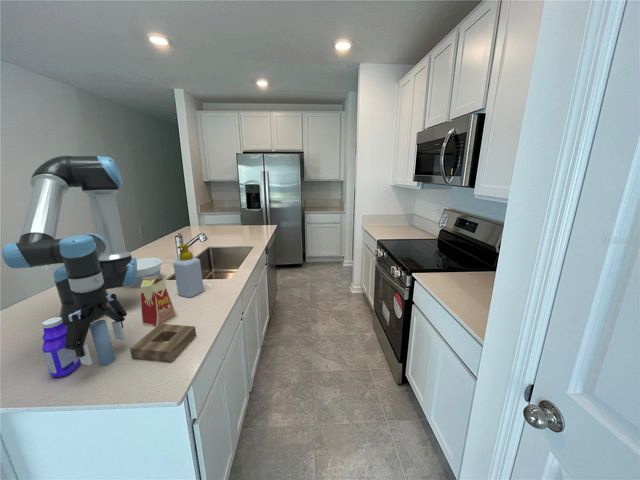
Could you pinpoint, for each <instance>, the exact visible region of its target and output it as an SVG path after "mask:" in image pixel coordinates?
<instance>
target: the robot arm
mask: <svg viewBox="0 0 640 480" xmlns="http://www.w3.org/2000/svg"><path fill="white" fill-rule="evenodd" d="M123 183H124V182H123V179H122V176H121V172H120V170H119V167H118V165H117V163H116V161H115V159H114V158H112V157H109V156H100V155H96V156H95V155H93V156H92V155H60V156H59V155H58V156H55V157H52V158H49V159H48V160H46V161H45V162H43V163H42V164H40V165H39V166H38V168H36V170H34V172H33V174H32V176H31V179H30V186H31V188H32V191H31V195H30V199H29V203H28V207H27V209H26V214H25V217H24V221H23V226H22V230H21V233H20V237H19V240H18V242H16V241H15V242H10V243H7V244H5V245H4V246H3V248H2V251H1V255H2V256H1V257H2V260H3V262H4V264H6V266H7V267H8V268H11V269H27V268H28V269H29V268H35V267H43V266H49V265H56V264H57V265H58V264H63V265H60V266H59V267H57V268H56V269H55V270H54V271H53V279H54V284H55V287H56V290H57V293H58V297H59V299H60V300H59V301H60V303H61V306H60V307H61V308H60V312H59V313H60V315H59V317H61V318H62V321H63V323H64V325H65V326H66V327H67V333H66V342H65V349H70V350H75V353H76V356H77V357H79V358H80V363H81V365H84V366H85V365H88V366H90V365H91V364H93V362H92V358H91V354H90V351H89V347H88V344H85V342H86V339H87V336H88V333H89V330H90V324H91V323H93V322H95V321H97V320H99V319H101V318H102V317H104V316H106V317H108V318H109V319H111V320H113V321H112V322H111V326H112V330H113V333H114V337H115V340H118V341H124V340H125V334H124V330H123V329H124V323H123V322H124V321H125V320H126V318H125V317H127V314H128V313H127V312H126V310H125V309H124V308H123V306H122V305H121V303H120V302H119V300H118V298H117V295H116V293H107V290H111V289H117V288H124V287H127V286H128V285H132V284H134V283H135V282H136V279H137V258H136V257H133V256H132V254H131V253H130V252H129V251H127V250H126V245H125V240H124V234H123V233H124V232H123V227H122V223H121V218H120V213H119V207H118V202H117V196H116V195H117V194H118V193H119V192H120V188H119V187H122V186H123V185H124V184H123ZM70 188H81V190H82V191H81V192H82V193H84V194H85V195H87V196H88V200H89V206H90V210H91V216H92V220H93V225H94V229H95V230H94V231H95V233H85V234H81V235H72V236H68V237H64V238H56V236H57V231H58V226H59V221H60V214H61V209H62V203H63V199H64V194H66V193H68V191H69V189H70ZM128 287H129V286H128ZM107 303H108V304H107ZM109 305H110V307H109Z"/></svg>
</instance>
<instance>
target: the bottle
mask: <svg viewBox="0 0 640 480" xmlns="http://www.w3.org/2000/svg"><path fill="white" fill-rule="evenodd" d="M42 328H43V335H42V337H41V339H42V340H43V343H42V347H41V349H42V353H43V358H44V359H45V360H44V361H45V363H46V365H47V369H48V372H49V373H48V374H49V375H50V376H51V377H53V378H62V377H65V376H67V375H69V374H71V373H72V372H74V370H76V369H77V368H78V367H79V365H80V363H81V360H80V357H77V356H76V353H75V350H70V349H65V342H66V333H67V326H65V325H64V323H63V321H62V318H61V317H60V316H57V317H56V316H55V317H51V318H48V319H46V320H44V321H43V322H42Z"/></svg>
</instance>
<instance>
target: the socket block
mask: <svg viewBox="0 0 640 480" xmlns="http://www.w3.org/2000/svg"><path fill="white" fill-rule="evenodd" d="M196 331H197V330H196V326H194V325H182V324H181V325H180V324H170V323H169V324H168V323H165V324H159V325H158V326H157V327H153V329H152V330H150V331H149V332H148V333H146V334H145V335H144V336H143V337H142V338H140V340H138V341H137V342H135V344H133V345H132V346H131V347H129V351H130V355H131V359H132V360H138V361H139V360H140V361H142V360H143V361H150V362H151V361H153V362H163V363H171V364H172V363H173V362H174V361H175V360H176V358H177V357H178V356H179V355H180V354H181V353H182V352H184V350H185V349H186V347H188V345H190V343H191V342H192V341H194V339H196V337H197V332H196Z"/></svg>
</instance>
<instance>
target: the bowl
mask: <svg viewBox="0 0 640 480" xmlns="http://www.w3.org/2000/svg"><path fill="white" fill-rule="evenodd" d="M136 260H137V279H136V282H135V283H134V284H132V285H128V287H129V288H131V289H138V288H139V289H141V285H142V282H143V280H144V279H142V278H148V277H153V276H157V278H156V279H160V275H161V267H162V259H160V258H156V257H145V258H138V259H137V258H136Z"/></svg>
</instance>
